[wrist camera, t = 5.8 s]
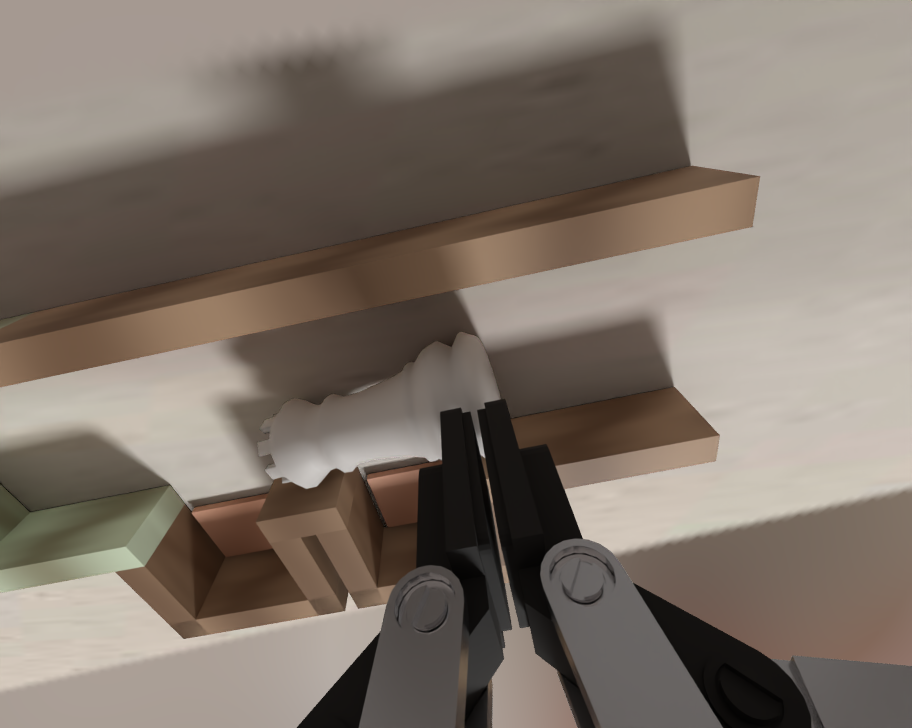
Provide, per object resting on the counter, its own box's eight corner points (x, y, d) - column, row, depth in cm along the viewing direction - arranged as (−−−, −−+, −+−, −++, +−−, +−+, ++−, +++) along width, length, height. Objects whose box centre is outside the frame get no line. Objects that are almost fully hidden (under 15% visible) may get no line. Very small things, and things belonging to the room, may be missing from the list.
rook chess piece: (483, 330, 16) (300, 384, 17) (462, 321, 11) (220, 395, 13) (515, 444, 16) (328, 488, 17) (506, 479, 11) (256, 534, 13)
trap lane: (692, 165, 13) (760, 176, 10) (666, 493, 20) (702, 549, 17) (-174, 358, 14) (-310, 411, 12) (94, 596, 21) (47, 662, 19)
